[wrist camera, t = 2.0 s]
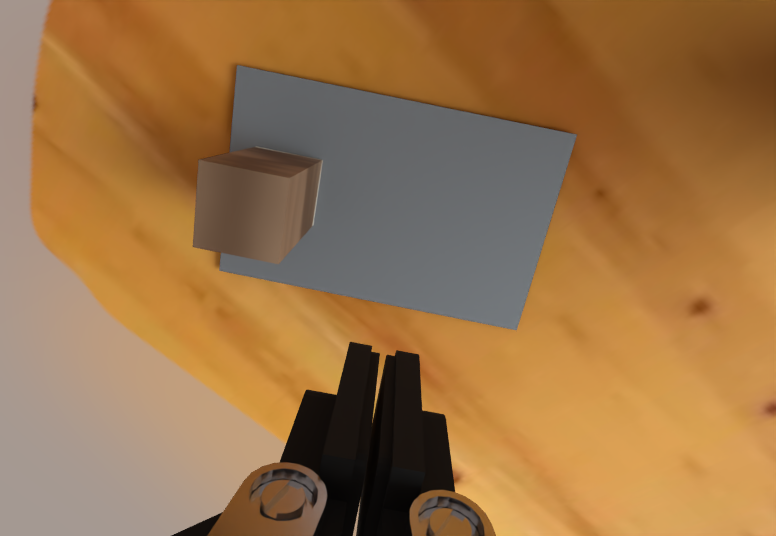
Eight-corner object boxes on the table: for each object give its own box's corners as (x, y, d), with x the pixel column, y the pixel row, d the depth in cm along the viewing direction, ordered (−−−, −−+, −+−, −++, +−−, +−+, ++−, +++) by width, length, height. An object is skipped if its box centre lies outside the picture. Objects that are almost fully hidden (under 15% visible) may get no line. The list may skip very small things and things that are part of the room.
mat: (574, 134, 31) (577, 134, 31) (515, 326, 36) (516, 330, 35) (240, 65, 31) (237, 65, 30) (222, 268, 35) (219, 270, 35)
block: (323, 160, 32) (289, 178, 23) (313, 224, 33) (278, 264, 25) (256, 146, 32) (198, 159, 23) (249, 211, 33) (192, 247, 25)
